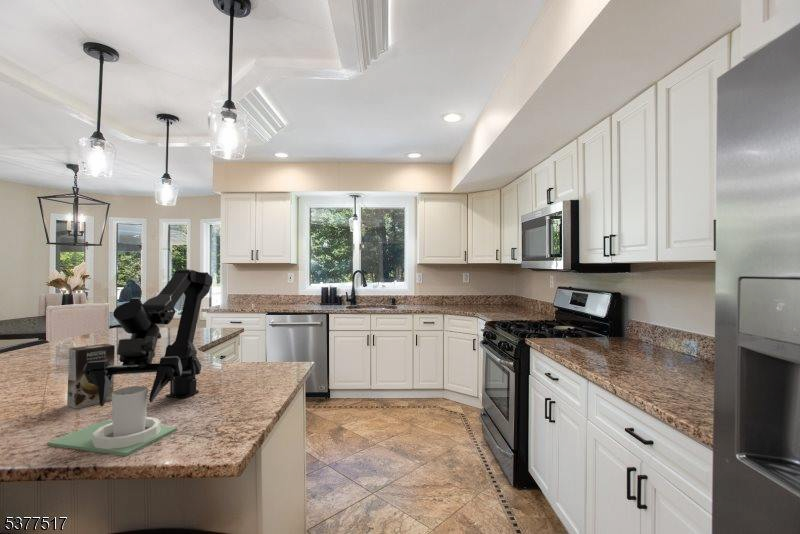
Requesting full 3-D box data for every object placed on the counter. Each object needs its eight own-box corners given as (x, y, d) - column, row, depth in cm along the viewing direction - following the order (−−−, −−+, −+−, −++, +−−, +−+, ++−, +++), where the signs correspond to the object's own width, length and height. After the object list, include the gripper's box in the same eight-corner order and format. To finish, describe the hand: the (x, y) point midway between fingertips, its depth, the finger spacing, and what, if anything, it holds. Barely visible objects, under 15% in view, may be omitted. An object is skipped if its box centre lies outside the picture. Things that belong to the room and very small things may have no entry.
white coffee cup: (128, 442, 81) (129, 395, 82) (102, 439, 83) (103, 393, 83) (154, 430, 88) (155, 386, 88) (129, 427, 89) (130, 385, 89)
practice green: (47, 445, 82) (47, 433, 82) (105, 422, 94) (105, 411, 94) (126, 455, 77) (126, 443, 77) (177, 430, 90) (177, 419, 90)
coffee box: (75, 409, 103) (76, 350, 103) (66, 405, 106) (67, 347, 107) (114, 400, 111) (115, 344, 111) (105, 396, 114) (106, 342, 114)
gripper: (87, 326, 86) (61, 389, 76) (180, 323, 92) (168, 380, 82) (101, 353, 93) (79, 414, 83) (186, 349, 100) (176, 405, 89)
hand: (126, 403), depth 84 cm, fingers open, 9 cm apart
